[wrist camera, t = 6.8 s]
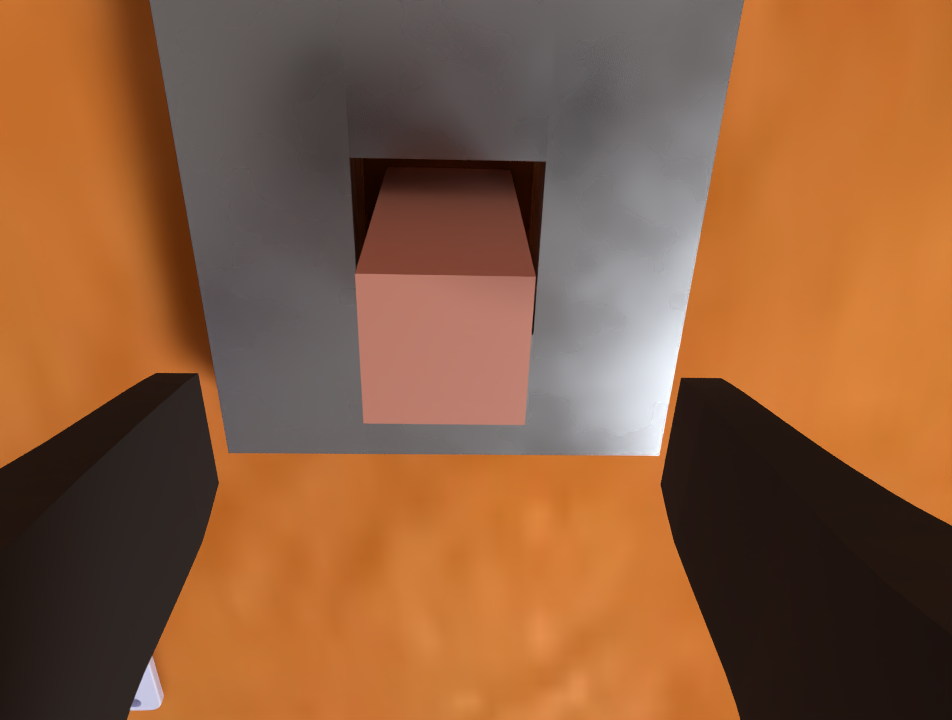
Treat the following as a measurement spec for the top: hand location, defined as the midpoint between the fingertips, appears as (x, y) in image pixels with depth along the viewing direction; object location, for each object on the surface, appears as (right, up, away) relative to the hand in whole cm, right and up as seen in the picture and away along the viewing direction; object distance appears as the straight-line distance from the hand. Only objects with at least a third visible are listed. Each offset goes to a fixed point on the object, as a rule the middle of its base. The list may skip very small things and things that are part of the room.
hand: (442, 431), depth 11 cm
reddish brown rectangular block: (0, +5, +9) cm, 10 cm away
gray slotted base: (0, +5, +9) cm, 10 cm away
